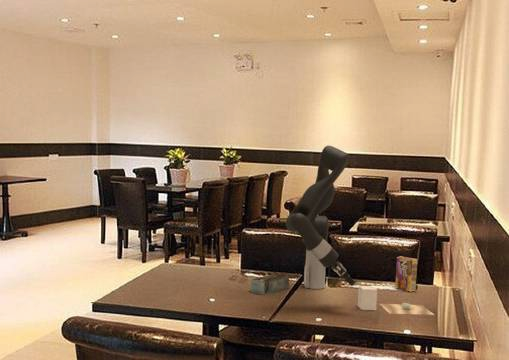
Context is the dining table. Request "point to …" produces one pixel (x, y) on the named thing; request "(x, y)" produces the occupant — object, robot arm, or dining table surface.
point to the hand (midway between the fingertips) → (351, 282)
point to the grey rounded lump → (405, 306)
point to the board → (413, 310)
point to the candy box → (406, 273)
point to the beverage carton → (270, 283)
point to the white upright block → (367, 297)
